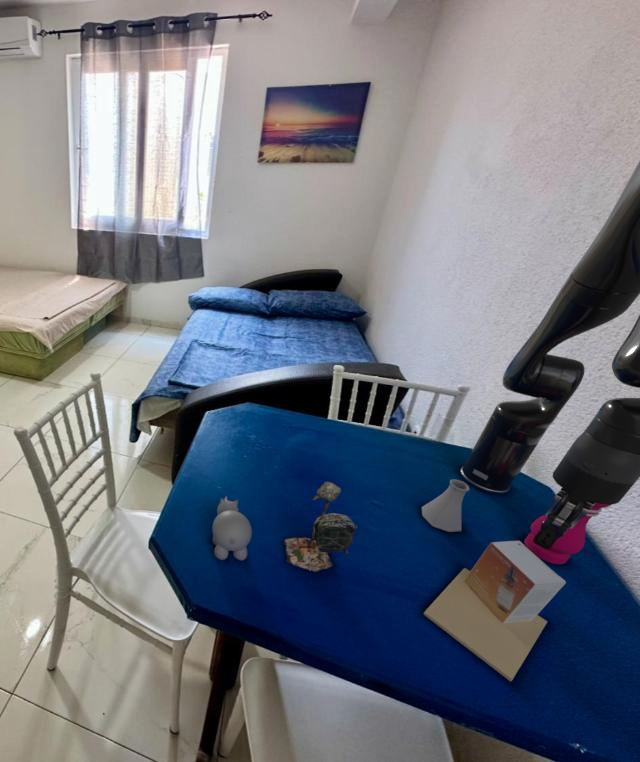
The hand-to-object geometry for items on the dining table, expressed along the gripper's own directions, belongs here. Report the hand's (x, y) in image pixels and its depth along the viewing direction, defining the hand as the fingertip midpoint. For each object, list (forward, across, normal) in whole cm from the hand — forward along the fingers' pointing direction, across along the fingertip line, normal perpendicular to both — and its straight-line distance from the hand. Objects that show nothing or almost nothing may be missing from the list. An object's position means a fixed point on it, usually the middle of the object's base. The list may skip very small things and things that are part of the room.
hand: (541, 544), depth 69 cm
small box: (+10, -7, 0) cm, 12 cm away
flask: (+11, +6, +14) cm, 19 cm away
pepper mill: (+11, +15, -1) cm, 18 cm away
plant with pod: (+11, -26, +23) cm, 37 cm away
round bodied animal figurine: (+11, -37, +35) cm, 52 cm away
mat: (+11, -12, 0) cm, 16 cm away
